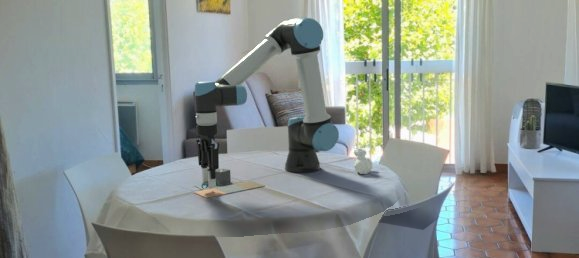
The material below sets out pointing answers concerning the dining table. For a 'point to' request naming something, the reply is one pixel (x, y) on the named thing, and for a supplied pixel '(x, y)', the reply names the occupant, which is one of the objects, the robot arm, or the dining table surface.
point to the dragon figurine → (207, 184)
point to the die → (223, 176)
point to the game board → (228, 189)
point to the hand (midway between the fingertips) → (209, 186)
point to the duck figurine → (362, 162)
